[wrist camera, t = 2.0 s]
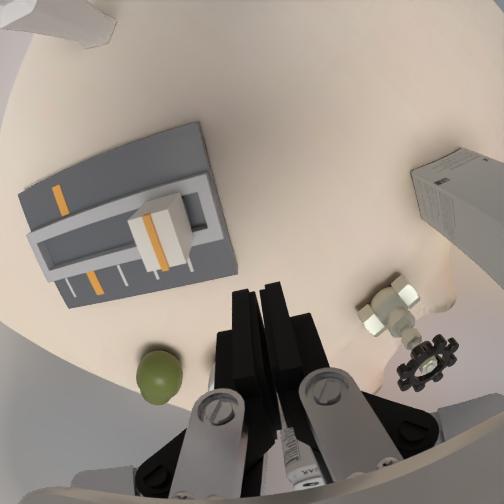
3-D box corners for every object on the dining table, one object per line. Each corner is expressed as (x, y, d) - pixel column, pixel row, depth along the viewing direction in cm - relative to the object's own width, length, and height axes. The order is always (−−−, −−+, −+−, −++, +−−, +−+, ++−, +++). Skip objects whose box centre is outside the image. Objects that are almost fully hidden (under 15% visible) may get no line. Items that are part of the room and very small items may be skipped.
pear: (183, 387, 29) (171, 418, 34) (189, 349, 33) (177, 386, 38) (133, 374, 27) (131, 407, 33) (144, 336, 32) (139, 376, 37)
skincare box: (461, 146, 24) (568, 184, 11) (470, 195, 27) (564, 250, 13) (405, 172, 25) (516, 228, 12) (418, 224, 28) (511, 299, 15)
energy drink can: (308, 402, 39) (328, 489, 26) (269, 401, 39) (281, 494, 25) (323, 376, 37) (350, 471, 23) (281, 375, 36) (298, 477, 23)
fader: (149, 197, 24) (125, 221, 18) (182, 188, 23) (166, 209, 18) (164, 240, 25) (146, 275, 20) (196, 233, 25) (185, 266, 20)
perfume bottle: (91, 62, 19) (-24, 37, 6) (70, 36, 18) (-38, 5, 4) (129, 28, 18) (35, -34, 5) (107, 3, 17) (16, -58, 3)
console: (25, 190, 24) (11, 197, 21) (199, 121, 23) (194, 121, 20) (73, 301, 30) (64, 314, 27) (237, 266, 29) (238, 280, 26)
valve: (345, 299, 31) (387, 379, 21) (390, 260, 30) (450, 328, 19) (373, 327, 34) (413, 400, 23) (413, 292, 32) (465, 358, 21)
